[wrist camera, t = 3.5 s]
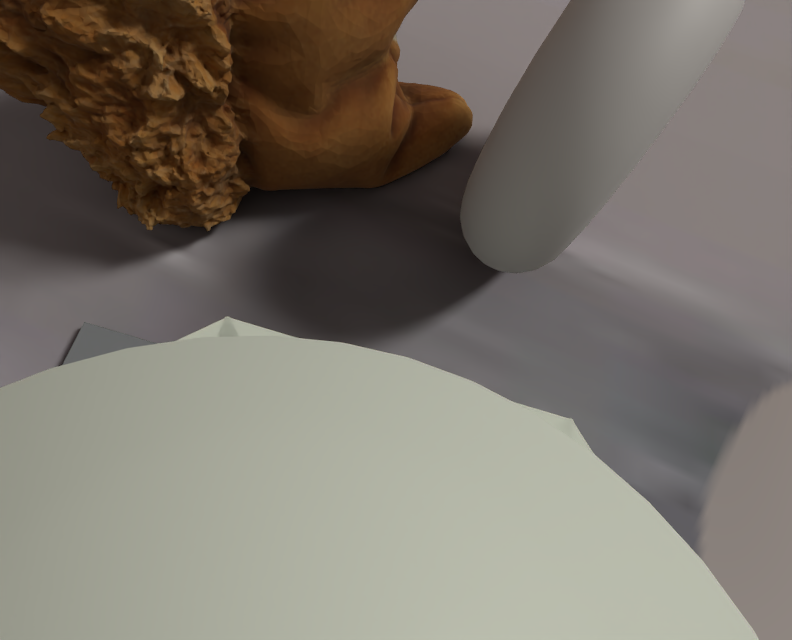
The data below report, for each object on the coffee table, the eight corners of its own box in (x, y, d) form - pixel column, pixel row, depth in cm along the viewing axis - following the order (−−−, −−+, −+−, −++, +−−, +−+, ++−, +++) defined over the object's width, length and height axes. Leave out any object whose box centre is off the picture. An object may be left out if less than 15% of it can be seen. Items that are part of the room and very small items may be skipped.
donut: (548, 104, 21) (721, -211, 11) (618, 148, 20) (858, -137, 11) (414, 279, 18) (496, 50, 8) (494, 335, 17) (676, 164, 8)
